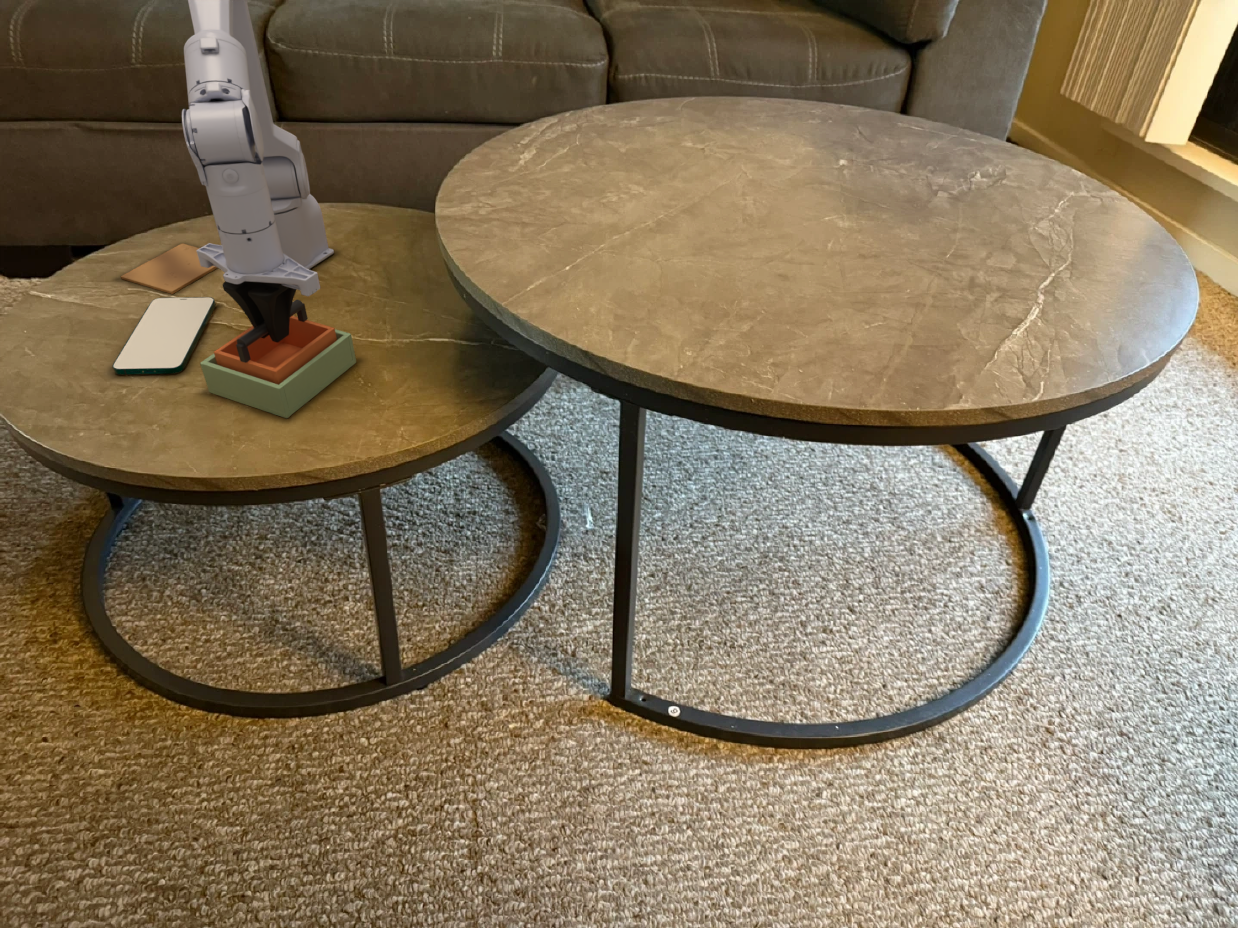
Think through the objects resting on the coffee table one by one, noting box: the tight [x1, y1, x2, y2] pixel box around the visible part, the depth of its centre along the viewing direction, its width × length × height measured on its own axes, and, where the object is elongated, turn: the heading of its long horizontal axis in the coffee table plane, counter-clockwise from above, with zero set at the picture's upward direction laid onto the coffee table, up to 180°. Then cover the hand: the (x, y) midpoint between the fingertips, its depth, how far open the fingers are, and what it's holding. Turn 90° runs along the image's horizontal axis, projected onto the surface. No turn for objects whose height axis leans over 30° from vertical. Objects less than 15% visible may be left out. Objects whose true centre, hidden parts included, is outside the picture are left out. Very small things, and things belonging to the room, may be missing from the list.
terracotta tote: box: [213, 299, 337, 385], centre depth 103 cm, size 10×9×7 cm
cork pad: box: [120, 242, 219, 295], centre depth 124 cm, size 11×9×1 cm
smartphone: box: [112, 296, 217, 375], centre depth 111 cm, size 8×1×16 cm
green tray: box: [199, 328, 357, 419], centre depth 104 cm, size 12×11×4 cm
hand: (274, 335), depth 102 cm, fingers closed
